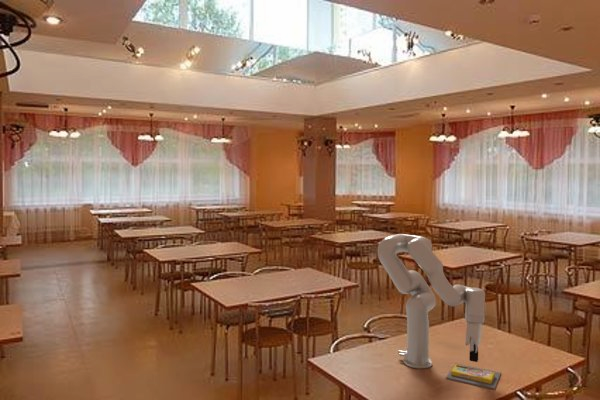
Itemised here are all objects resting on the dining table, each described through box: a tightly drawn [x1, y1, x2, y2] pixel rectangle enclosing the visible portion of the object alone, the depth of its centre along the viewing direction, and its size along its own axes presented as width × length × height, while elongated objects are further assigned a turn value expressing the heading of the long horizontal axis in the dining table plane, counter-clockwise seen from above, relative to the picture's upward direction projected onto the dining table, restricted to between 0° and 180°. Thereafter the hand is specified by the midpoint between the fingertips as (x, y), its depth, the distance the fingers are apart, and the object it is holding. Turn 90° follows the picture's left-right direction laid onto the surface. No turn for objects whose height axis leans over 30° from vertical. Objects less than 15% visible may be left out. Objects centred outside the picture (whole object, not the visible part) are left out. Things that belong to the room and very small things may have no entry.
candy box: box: [450, 363, 496, 384], centre depth 197 cm, size 16×2×8 cm
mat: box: [445, 363, 502, 391], centre depth 198 cm, size 19×17×1 cm
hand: (473, 360), depth 196 cm, fingers closed
